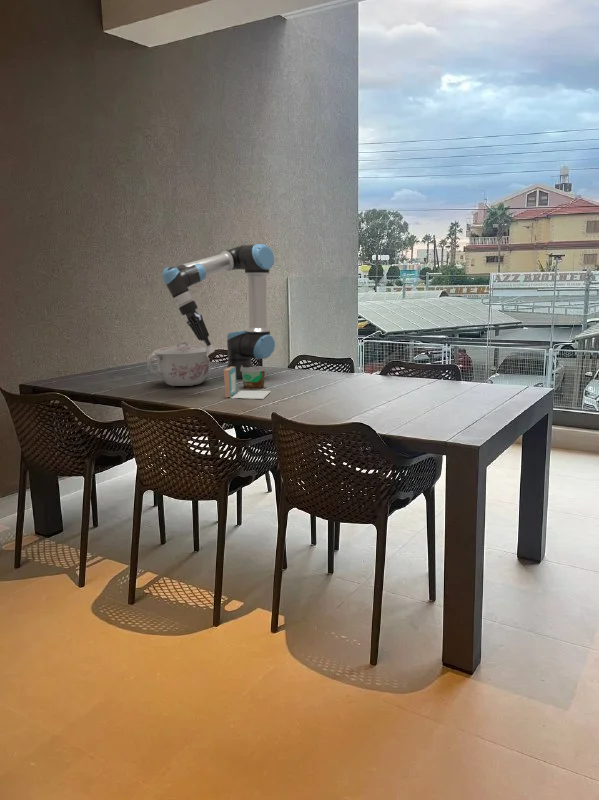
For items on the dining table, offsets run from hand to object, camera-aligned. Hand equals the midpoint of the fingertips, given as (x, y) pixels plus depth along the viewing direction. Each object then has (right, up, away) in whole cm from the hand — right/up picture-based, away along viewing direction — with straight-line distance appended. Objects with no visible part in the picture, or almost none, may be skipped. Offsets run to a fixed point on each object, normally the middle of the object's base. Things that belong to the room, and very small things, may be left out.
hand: (211, 352), depth 279 cm
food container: (+16, -15, +15) cm, 27 cm away
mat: (+17, -19, -2) cm, 26 cm away
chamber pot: (-17, -13, +29) cm, 36 cm away
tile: (+9, -19, -1) cm, 21 cm away
